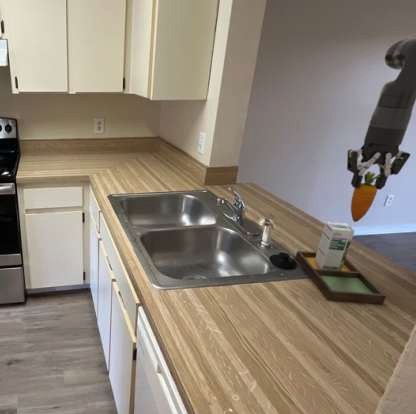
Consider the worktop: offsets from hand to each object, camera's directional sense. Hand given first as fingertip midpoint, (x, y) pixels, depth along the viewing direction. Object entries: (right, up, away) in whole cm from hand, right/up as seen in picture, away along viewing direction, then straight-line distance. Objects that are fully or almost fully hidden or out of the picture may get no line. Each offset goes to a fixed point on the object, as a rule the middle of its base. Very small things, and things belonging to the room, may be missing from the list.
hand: (366, 187), depth 91 cm
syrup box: (0, -24, +15) cm, 29 cm away
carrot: (0, -10, +4) cm, 11 cm away
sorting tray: (-1, -27, +11) cm, 29 cm away
